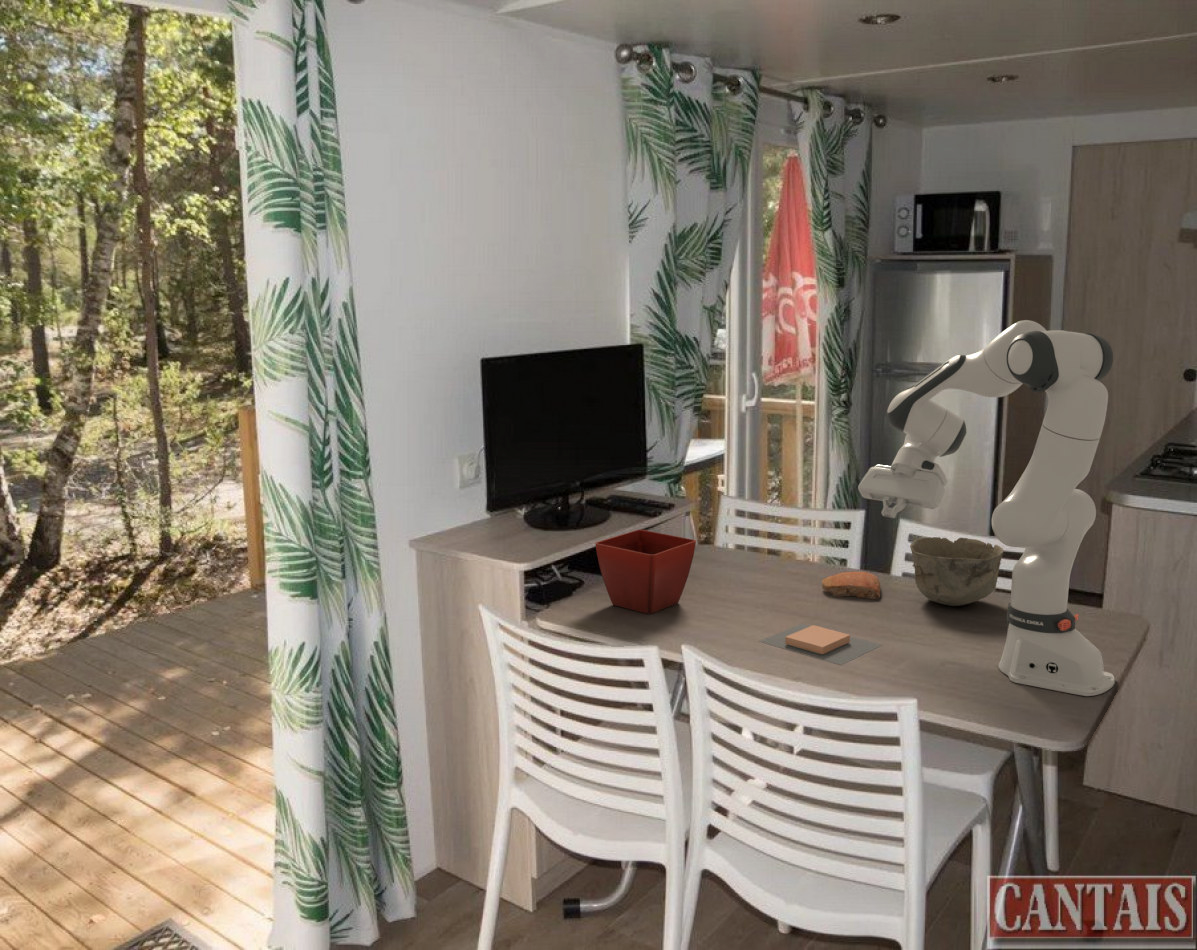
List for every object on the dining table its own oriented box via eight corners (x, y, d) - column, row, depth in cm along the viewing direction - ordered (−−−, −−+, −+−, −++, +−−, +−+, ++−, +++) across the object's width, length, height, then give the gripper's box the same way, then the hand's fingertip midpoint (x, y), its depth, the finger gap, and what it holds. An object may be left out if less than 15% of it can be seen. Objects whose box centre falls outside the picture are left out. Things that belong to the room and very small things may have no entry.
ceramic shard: (823, 563, 294) (879, 573, 292) (819, 586, 295) (875, 596, 292) (824, 571, 280) (883, 581, 277) (820, 595, 280) (878, 606, 278)
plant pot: (697, 602, 278) (698, 539, 275) (653, 621, 264) (652, 554, 261) (639, 589, 290) (639, 528, 287) (594, 606, 276) (593, 543, 273)
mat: (882, 647, 243) (882, 645, 243) (840, 667, 232) (840, 664, 231) (801, 625, 259) (801, 623, 259) (758, 643, 247) (758, 641, 247)
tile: (850, 634, 244) (822, 647, 237) (849, 643, 245) (822, 655, 237) (813, 625, 251) (785, 636, 244) (812, 633, 252) (785, 645, 244)
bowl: (1016, 605, 271) (1020, 548, 268) (962, 622, 259) (965, 562, 256) (944, 585, 289) (947, 531, 286) (890, 600, 277) (892, 544, 274)
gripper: (867, 456, 262) (844, 501, 257) (945, 466, 247) (922, 514, 243) (876, 471, 266) (854, 516, 261) (953, 482, 251) (931, 530, 246)
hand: (887, 515), depth 252 cm, fingers closed
